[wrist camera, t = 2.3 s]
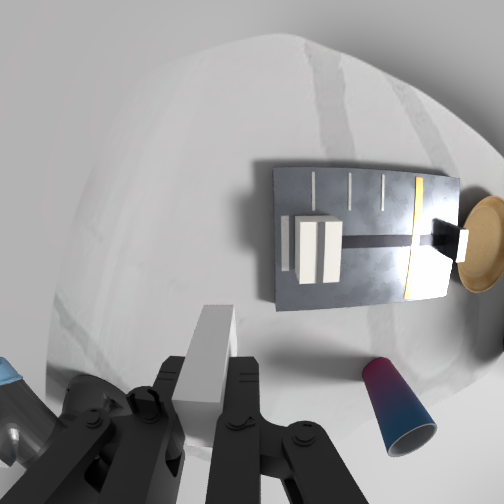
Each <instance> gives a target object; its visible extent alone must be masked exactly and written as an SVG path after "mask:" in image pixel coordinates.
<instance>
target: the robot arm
mask: <svg viewBox="0 0 504 504" xmlns="http://www.w3.org/2000/svg"><path fill="white" fill-rule="evenodd" d="M185 440H186V442H187V445H188V446H200V447H213V451H212V458H211V466H210V472H209V479H208V487H207V494H206V502H205V504H261V474H262V475H266V476H270V477H274V478H279V479H280V480H281V482H282V485H283V487H284V490H285V492H286V495H287V497H288V500H289V502H290V504H369V503H368V502H367V500H366V498H365V497H364V495H363V493H362V492H361V490H360V489H359V487H358V485H357V484H356V482H355V480H354V479H353V477H352V475H351V474H350V472H349V470H348V469H347V467H346V465H345V464H344V462H343V460H342V458H341V457H340V455H339V453H338V452H337V450H336V448H335V447H334V445H333V443H332V441H331V440H330V438H329V436H328V435H327V433H326V431H325V430H324V429H323V428H322V427H321V425H319V424H317V423H315V422H311V421H298V422H295V423H293V424H290V425H289V426H288V427H284V426H279V425H275V424H272V423H270V422H268V421H267V420H265V419H264V418H263V417H262V415H261V413H260V390H259V364H258V362H257V361H256V360H255V358H254V357H237V339H236V326H235V313H234V305H204V306H203V309H202V312H201V314H200V317H199V320H198V323H197V326H196V329H195V331H194V334H193V337H192V340H191V343H190V346H189V349H188V352H187V355H186V357H182V356H170V357H169V358H168V359H166V360H165V361H164V362H163V363H162V366H161V368H160V370H159V373H158V375H157V377H156V380H155V382H154V384H153V387H151V386H141V387H137V388H134V389H133V390H131V391H130V392H129V393H128V394H127V395H125V394H124V393H123V392H122V391H120V390H119V389H118V388H116V387H115V386H113V385H111V384H110V383H108V382H106V381H104V380H102V379H99V378H96V377H93V376H88V375H80V376H77V377H75V378H74V379H73V380H72V381H71V383H70V384H69V385H68V387H67V390H66V396H65V399H64V403H63V408H62V413H61V415H60V416H59V418H58V417H57V416H56V415H55V414H54V413H53V412H52V411H51V410H50V409H49V408H48V407H47V406H46V405H45V404H44V403H43V402H42V401H41V400H40V399H39V398H38V396H37V395H36V394H35V393H34V392H33V391H32V390H31V389H30V387H29V386H28V385H27V384H26V383H25V381H24V380H23V377H22V376H21V375H19V374H18V373H17V372H16V370H15V369H14V368H13V367H12V366H11V364H10V363H9V362H8V361H7V360H6V359H5V358H3V357H0V467H3V468H10V467H11V466H12V465H13V463H14V462H15V461H17V462H19V463H20V464H21V465H22V466H23V467H24V468H25V469H26V471H25V472H24V473H25V474H24V475H23V476H22V477H21V478H20V479H19V480H18V481H17V482H16V483H15V484H14V485H13V486H12V488H11V489H10V490H9V491H8V492H7V493H6V494H5V495H4V496H3V498H1V500H0V504H176V500H177V495H178V490H179V485H180V479H181V475H182V470H183V465H184V460H185V452H184V449H183V445H184V441H185Z"/></svg>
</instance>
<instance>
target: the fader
mask: <svg viewBox="0 0 504 504" xmlns="http://www.w3.org/2000/svg"><path fill="white" fill-rule="evenodd" d="M341 245H342V221H341V220H339V219H337V218H336V217H334V216H333V215H323V216H295V274H296V276H297V279H298V281H299V284H310V283H317V284H323V283H329V282H339V277H340V262H341Z"/></svg>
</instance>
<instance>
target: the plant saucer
mask: <svg viewBox="0 0 504 504" xmlns="http://www.w3.org/2000/svg"><path fill="white" fill-rule="evenodd" d="M462 228H465V229H468V230H469V231H468V239H467V246H466V253H465V259H464V262H457V267H458V272H459V277H460V279H461V282H462V284H463V285H464V287H465V288H466V289H467V290H469V291H470V292H473V293H481V292H485V291H487V290H488V289H490V288H491V287H493V286H494V285H495V284H496V283H497V282H498V280H499V279H500V278H501V276H502V275H503V273H504V200H503V199H502V198H500V197H498V196H488V197H486V198H484V199H482V200H481V201H480V202H479V203H477V204H476V205H475V206H474V207H473V209H472V210H471V211H470V213H469V214H468V216H467V217H466V219H465V221H464V223H463V226H462Z"/></svg>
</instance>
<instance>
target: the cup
mask: <svg viewBox="0 0 504 504" xmlns="http://www.w3.org/2000/svg"><path fill="white" fill-rule="evenodd" d="M362 377H363V380H364V383H365V386H366V388H367V391H368V394H369V397H370V400H371V403H372V406H373V409H374V412H375V415H376V418H377V421H378V424H379V427H380V430H381V434H382V437H383V440H384V443H385V447H386V450H387V453H388V455H389V456H390V457H400V456H404V455H406V454H409V453H411V452H413V451H415V450H417V449H419V448H420V447H422V446H423V445H424V444H425V443H427V442H428V441H429V440H430V439H431V438H432V437H433V435H434V434H435V433H436V430H437V425H436V424H435V422H434V421H433V419H432V418H431V416H430V415H429V414H428V412H427V411H426V409H425V408H424V406H423V405H422V404H421V402H420V401H419V399H418V398H417V397H416V395H415V394H414V392H413V391H412V390H411V388H410V387H409V386H408V384H407V383H406V381H405V380H404V379H403V377H402V376H401V375H400V373H399V372H398V371H397V369H396V368H395V367H394V365H393V364H392V363H391V361H390V360H389V359H387V358H378V359H375V360H373V361H372V362H370V363H369V364H368V365H367V366H366V367H365V368H364V370H363V373H362Z"/></svg>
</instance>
